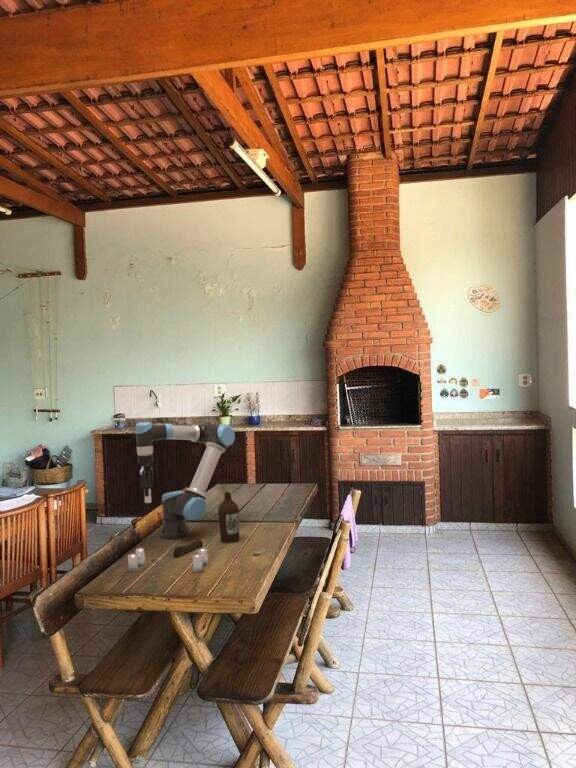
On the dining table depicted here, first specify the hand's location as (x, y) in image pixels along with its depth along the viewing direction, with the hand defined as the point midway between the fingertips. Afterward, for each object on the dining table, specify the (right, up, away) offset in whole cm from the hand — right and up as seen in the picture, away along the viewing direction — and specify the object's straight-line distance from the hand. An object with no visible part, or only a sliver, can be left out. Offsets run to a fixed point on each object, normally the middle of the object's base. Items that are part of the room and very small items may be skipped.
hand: (148, 502), depth 279 cm
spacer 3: (+29, -24, -29) cm, 47 cm away
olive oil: (+39, -22, +13) cm, 46 cm away
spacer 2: (+1, -25, -16) cm, 30 cm away
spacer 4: (+30, -24, -21) cm, 44 cm away
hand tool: (+20, -24, -2) cm, 31 cm away
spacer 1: (-1, -25, -24) cm, 35 cm away
